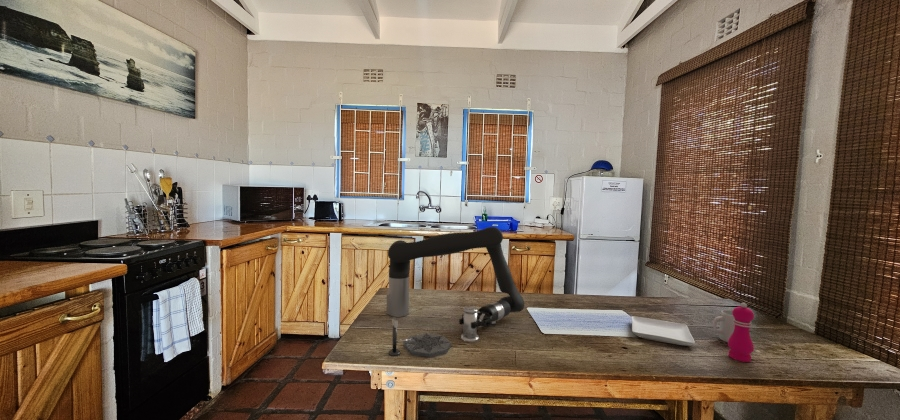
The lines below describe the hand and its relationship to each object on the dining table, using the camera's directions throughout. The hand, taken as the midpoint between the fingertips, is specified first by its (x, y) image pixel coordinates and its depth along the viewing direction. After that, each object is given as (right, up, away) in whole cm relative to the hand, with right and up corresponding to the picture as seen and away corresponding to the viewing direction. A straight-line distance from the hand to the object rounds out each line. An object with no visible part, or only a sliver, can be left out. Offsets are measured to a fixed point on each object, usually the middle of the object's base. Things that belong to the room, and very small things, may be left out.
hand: (466, 323), depth 139 cm
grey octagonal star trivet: (-14, -7, -6) cm, 17 cm away
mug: (+105, -9, +7) cm, 105 cm away
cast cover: (+1, -6, +2) cm, 7 cm away
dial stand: (-24, -7, -11) cm, 27 cm away
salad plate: (+80, -8, +11) cm, 81 cm away
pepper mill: (+97, -10, -8) cm, 98 cm away
